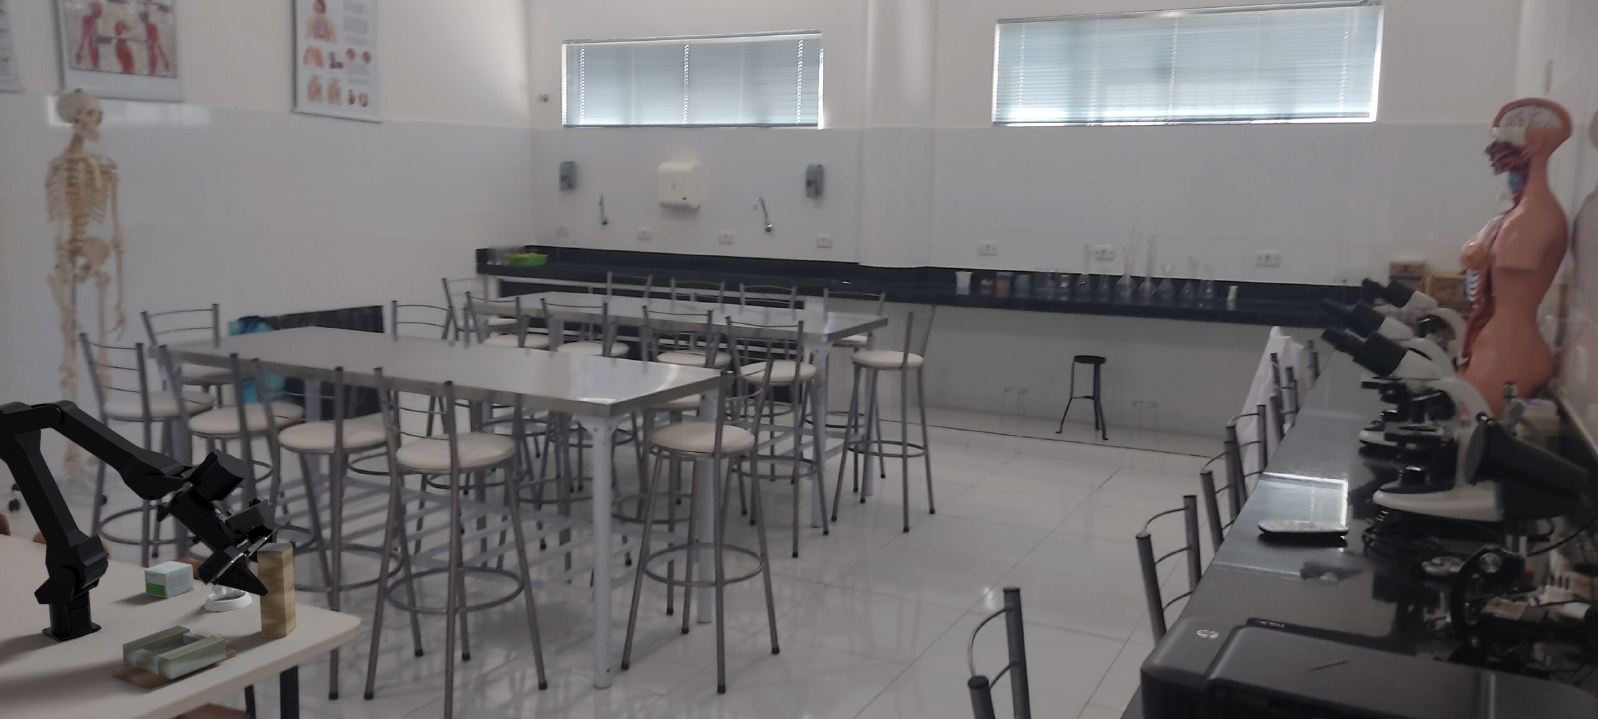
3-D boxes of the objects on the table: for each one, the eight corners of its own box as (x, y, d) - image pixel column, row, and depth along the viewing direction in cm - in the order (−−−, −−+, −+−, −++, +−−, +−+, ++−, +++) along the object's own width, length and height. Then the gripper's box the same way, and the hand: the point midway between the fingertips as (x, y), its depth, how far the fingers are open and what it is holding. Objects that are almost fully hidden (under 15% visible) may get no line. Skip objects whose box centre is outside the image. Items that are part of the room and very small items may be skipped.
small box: (144, 595, 204) (142, 568, 203) (173, 585, 209) (171, 559, 208) (167, 599, 202) (165, 573, 201) (195, 589, 207) (193, 563, 206)
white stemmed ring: (264, 584, 195) (226, 564, 193) (230, 633, 198) (193, 614, 196) (279, 561, 202) (242, 542, 200) (246, 609, 205) (210, 590, 203)
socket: (107, 674, 170) (105, 650, 170) (194, 642, 183) (192, 620, 182) (154, 690, 165) (153, 665, 164) (241, 656, 177) (239, 633, 177)
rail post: (261, 636, 186) (257, 550, 184) (272, 626, 190) (267, 542, 188) (286, 636, 186) (282, 550, 184) (296, 626, 190) (292, 543, 188)
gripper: (211, 501, 175) (288, 569, 177) (263, 471, 193) (332, 534, 195) (163, 550, 175) (240, 618, 178) (219, 516, 194) (288, 578, 196)
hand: (278, 584), depth 187 cm, fingers open, 9 cm apart
